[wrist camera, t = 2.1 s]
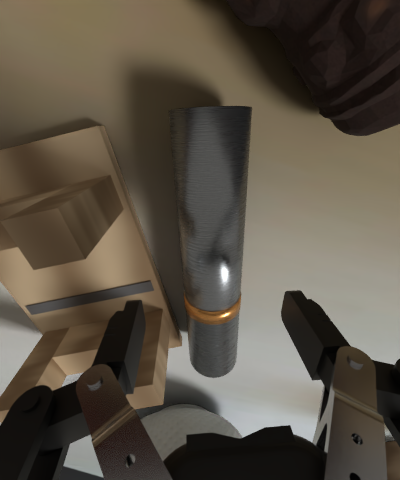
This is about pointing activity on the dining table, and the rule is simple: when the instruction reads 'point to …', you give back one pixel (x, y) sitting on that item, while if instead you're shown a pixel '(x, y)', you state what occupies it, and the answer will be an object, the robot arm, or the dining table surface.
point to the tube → (211, 226)
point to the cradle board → (77, 261)
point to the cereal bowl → (183, 426)
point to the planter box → (392, 460)
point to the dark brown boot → (339, 55)
